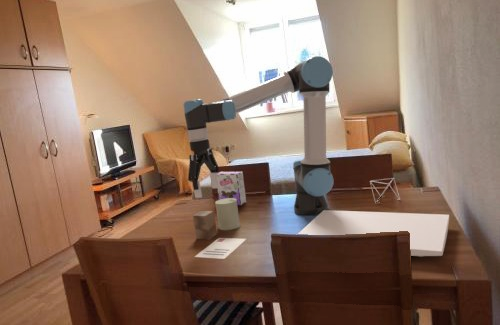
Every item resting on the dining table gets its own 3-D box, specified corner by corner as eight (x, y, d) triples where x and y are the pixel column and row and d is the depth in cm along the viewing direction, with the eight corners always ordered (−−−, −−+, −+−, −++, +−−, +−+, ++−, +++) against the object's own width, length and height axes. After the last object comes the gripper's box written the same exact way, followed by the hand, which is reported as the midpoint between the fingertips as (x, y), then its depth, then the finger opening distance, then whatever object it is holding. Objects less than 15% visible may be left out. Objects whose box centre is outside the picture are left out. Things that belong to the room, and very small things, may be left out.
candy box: (218, 204, 203) (214, 173, 201) (225, 201, 208) (221, 171, 206) (240, 205, 196) (236, 173, 193) (247, 202, 201) (242, 171, 198)
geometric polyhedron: (402, 197, 175) (401, 177, 174) (397, 204, 166) (396, 183, 165) (374, 196, 182) (372, 177, 181) (368, 203, 173) (366, 183, 172)
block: (217, 234, 157) (213, 211, 155) (209, 240, 151) (206, 215, 150) (204, 234, 159) (200, 211, 158) (196, 240, 154) (192, 215, 152)
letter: (246, 239, 147) (246, 238, 147) (224, 259, 131) (224, 258, 131) (219, 238, 152) (218, 237, 152) (194, 257, 136) (194, 256, 136)
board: (292, 252, 130) (291, 239, 129) (324, 221, 157) (323, 210, 157) (442, 267, 107) (441, 251, 106) (449, 227, 134) (449, 214, 134)
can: (237, 230, 159) (233, 202, 157) (216, 231, 161) (212, 203, 159) (242, 223, 168) (238, 196, 166) (222, 224, 170) (218, 197, 168)
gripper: (206, 136, 164) (213, 185, 167) (172, 145, 141) (182, 202, 145) (221, 134, 161) (229, 184, 164) (190, 144, 138) (199, 201, 142)
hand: (207, 192), depth 155 cm, fingers open, 13 cm apart
